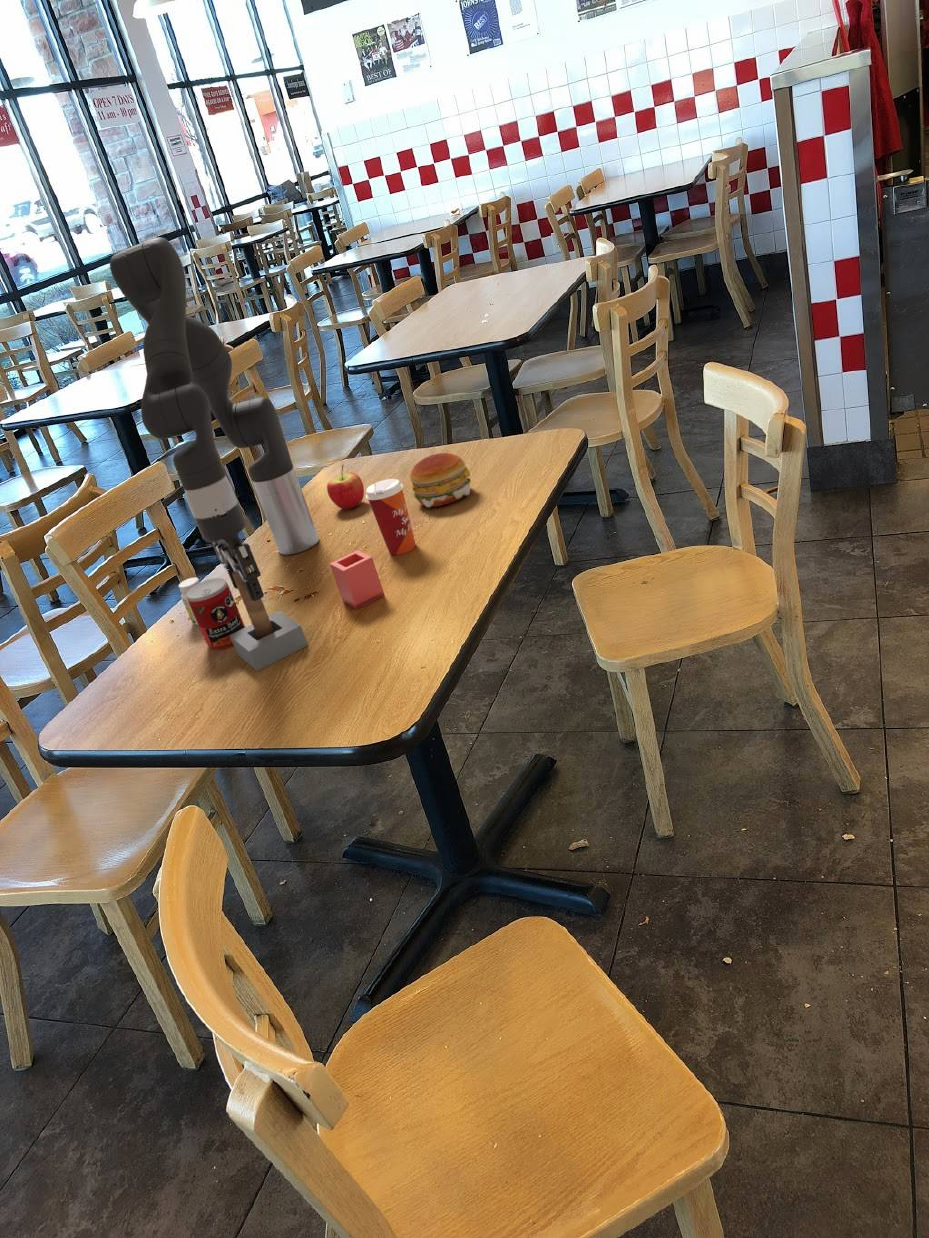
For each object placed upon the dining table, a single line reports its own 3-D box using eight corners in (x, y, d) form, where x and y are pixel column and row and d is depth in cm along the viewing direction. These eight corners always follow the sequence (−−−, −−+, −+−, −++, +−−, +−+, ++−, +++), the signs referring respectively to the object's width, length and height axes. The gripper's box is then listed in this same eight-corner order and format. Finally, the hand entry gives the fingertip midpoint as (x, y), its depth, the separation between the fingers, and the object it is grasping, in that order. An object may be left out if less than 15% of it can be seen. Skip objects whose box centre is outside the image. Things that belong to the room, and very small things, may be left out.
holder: (237, 654, 178) (229, 635, 176) (286, 629, 182) (279, 610, 180) (257, 671, 170) (248, 651, 168) (308, 645, 174) (300, 625, 172)
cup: (343, 601, 186) (329, 563, 183) (370, 587, 189) (357, 550, 185) (356, 609, 181) (343, 570, 178) (384, 595, 184) (371, 557, 180)
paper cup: (415, 554, 197) (395, 489, 191) (380, 560, 199) (359, 496, 193) (424, 537, 204) (405, 474, 198) (390, 543, 206) (370, 481, 200)
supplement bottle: (220, 612, 197) (204, 575, 193) (208, 624, 193) (191, 587, 190) (200, 614, 199) (185, 577, 195) (188, 626, 195) (171, 589, 191)
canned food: (213, 655, 180) (190, 602, 175) (203, 641, 187) (181, 590, 182) (252, 637, 183) (231, 585, 178) (241, 624, 189) (220, 573, 184)
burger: (440, 485, 230) (428, 445, 226) (486, 485, 222) (475, 443, 217) (405, 511, 221) (392, 469, 217) (452, 512, 213) (440, 468, 209)
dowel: (260, 647, 176) (229, 572, 169) (275, 639, 177) (245, 565, 171) (266, 651, 174) (235, 576, 167) (281, 644, 175) (251, 569, 168)
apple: (375, 498, 234) (362, 459, 229) (354, 514, 228) (340, 474, 223) (349, 499, 238) (336, 460, 234) (327, 514, 233) (313, 475, 228)
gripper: (181, 508, 168) (216, 592, 175) (207, 524, 156) (244, 613, 163) (221, 491, 171) (254, 574, 178) (250, 505, 159) (284, 593, 166)
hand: (249, 592), depth 171 cm, fingers open, 8 cm apart
